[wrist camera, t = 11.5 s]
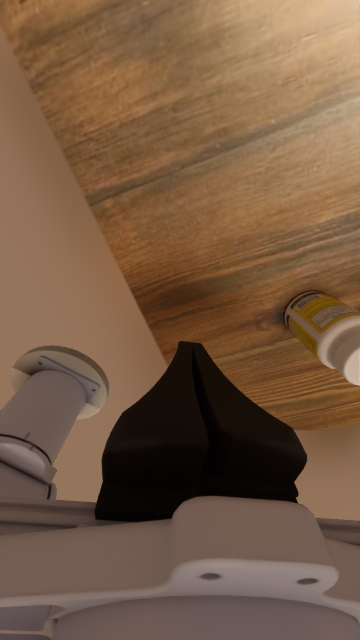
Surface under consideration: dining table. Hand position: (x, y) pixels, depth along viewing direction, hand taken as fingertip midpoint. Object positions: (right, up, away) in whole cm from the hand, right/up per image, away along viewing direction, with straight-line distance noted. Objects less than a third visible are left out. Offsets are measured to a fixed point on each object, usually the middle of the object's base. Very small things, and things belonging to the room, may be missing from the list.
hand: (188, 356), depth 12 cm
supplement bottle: (+13, +3, +9) cm, 16 cm away
